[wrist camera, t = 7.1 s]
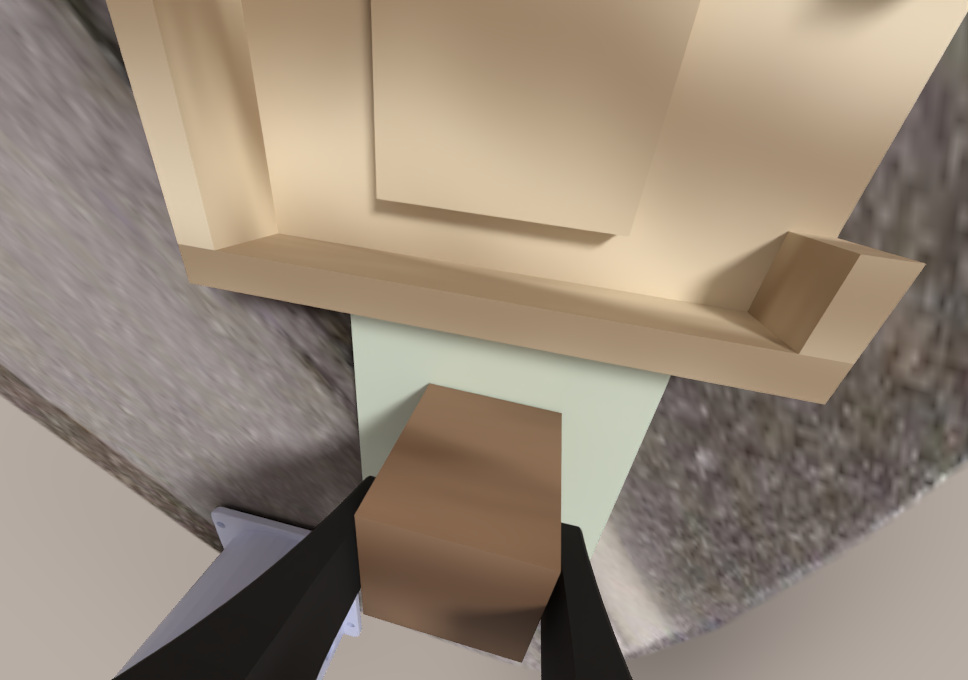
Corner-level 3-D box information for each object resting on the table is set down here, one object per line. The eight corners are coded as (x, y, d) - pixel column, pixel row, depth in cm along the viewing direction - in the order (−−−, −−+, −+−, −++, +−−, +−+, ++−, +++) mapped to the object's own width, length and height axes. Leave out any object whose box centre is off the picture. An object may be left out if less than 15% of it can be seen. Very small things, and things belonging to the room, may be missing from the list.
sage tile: (586, 552, 15) (587, 566, 15) (370, 497, 17) (364, 508, 16) (669, 356, 11) (674, 366, 10) (359, 298, 12) (349, 305, 11)
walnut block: (535, 501, 14) (521, 662, 9) (424, 472, 14) (363, 614, 10) (562, 413, 12) (560, 571, 7) (429, 383, 12) (354, 515, 8)
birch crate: (755, 340, 10) (824, 404, 7) (272, 255, 12) (189, 282, 9) (1142, -373, 5) (1842, -1010, 2) (170, -338, 6) (-94, -677, 4)
